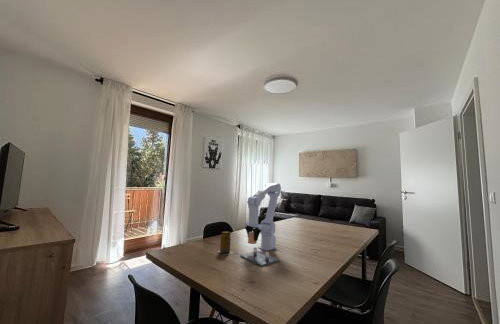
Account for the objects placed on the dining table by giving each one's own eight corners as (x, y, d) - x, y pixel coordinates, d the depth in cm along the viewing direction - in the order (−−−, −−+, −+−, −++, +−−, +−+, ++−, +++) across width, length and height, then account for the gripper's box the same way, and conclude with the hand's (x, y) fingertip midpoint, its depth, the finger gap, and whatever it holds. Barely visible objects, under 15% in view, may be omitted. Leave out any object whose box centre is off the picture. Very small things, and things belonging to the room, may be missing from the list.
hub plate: (258, 252, 132) (258, 244, 132) (279, 261, 118) (280, 252, 118) (240, 256, 123) (240, 247, 123) (261, 266, 109) (261, 256, 110)
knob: (252, 241, 131) (253, 230, 131) (258, 243, 127) (258, 232, 127) (246, 242, 127) (246, 231, 128) (251, 244, 124) (252, 233, 124)
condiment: (226, 249, 135) (227, 230, 136) (234, 253, 129) (235, 233, 130) (216, 251, 131) (217, 231, 132) (224, 255, 124) (225, 234, 125)
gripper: (241, 215, 132) (240, 237, 130) (256, 218, 121) (255, 243, 119) (250, 214, 136) (249, 236, 135) (265, 218, 125) (264, 241, 124)
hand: (252, 239), depth 127 cm, fingers closed on knob, 5 cm apart
